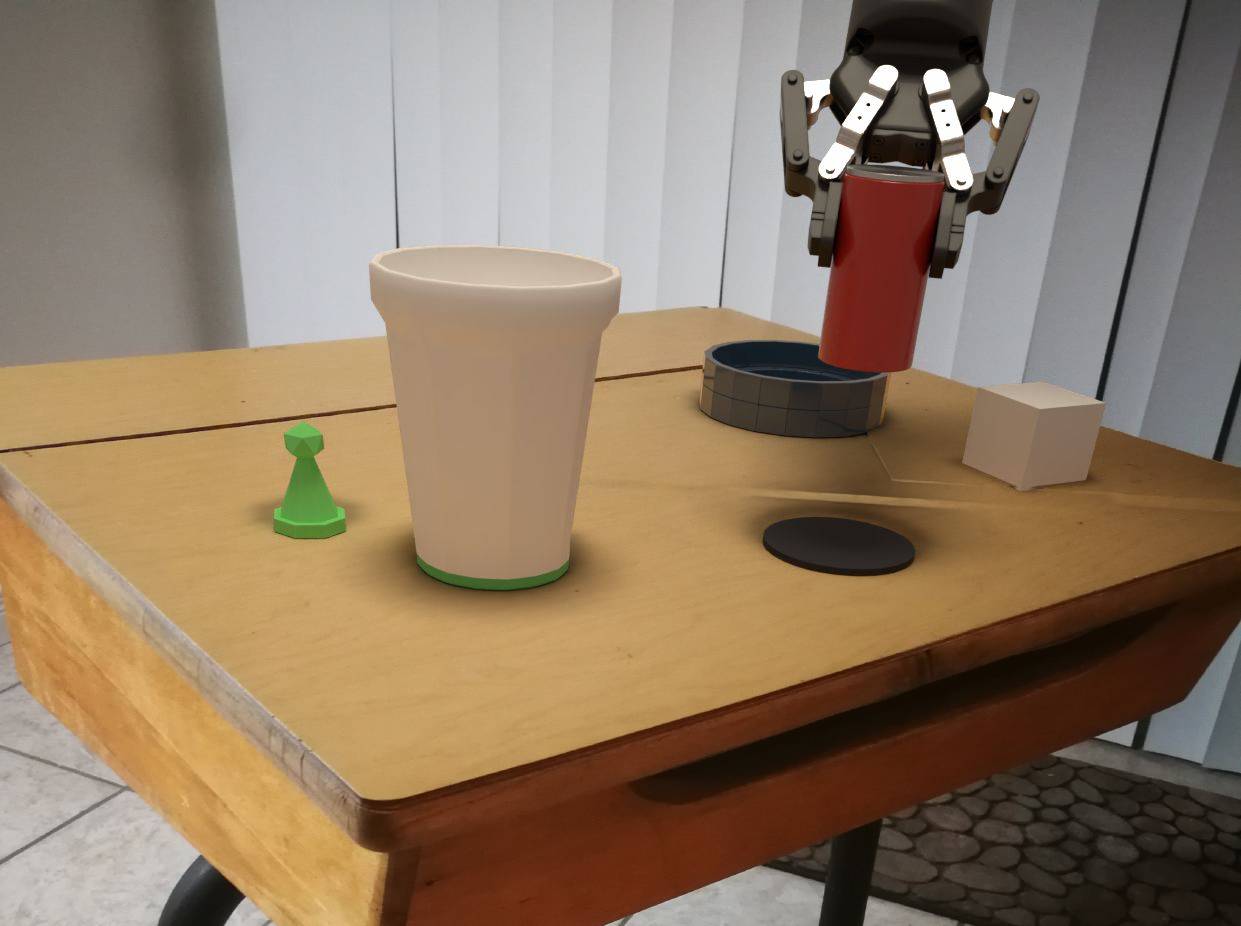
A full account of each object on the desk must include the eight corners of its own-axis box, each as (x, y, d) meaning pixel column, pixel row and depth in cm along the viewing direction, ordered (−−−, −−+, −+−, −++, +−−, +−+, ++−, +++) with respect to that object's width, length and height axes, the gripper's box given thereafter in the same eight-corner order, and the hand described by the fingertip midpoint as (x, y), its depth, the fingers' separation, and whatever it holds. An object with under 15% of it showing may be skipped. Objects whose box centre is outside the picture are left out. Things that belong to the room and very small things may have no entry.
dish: (865, 402, 108) (875, 346, 106) (894, 451, 96) (905, 388, 94) (695, 392, 108) (700, 334, 105) (703, 439, 96) (709, 375, 93)
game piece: (360, 532, 75) (355, 427, 72) (289, 543, 73) (281, 435, 70) (329, 510, 78) (324, 407, 75) (260, 520, 76) (251, 415, 73)
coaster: (900, 527, 81) (901, 521, 81) (927, 579, 74) (928, 573, 74) (756, 518, 81) (757, 512, 81) (769, 570, 74) (770, 563, 73)
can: (903, 354, 75) (935, 168, 69) (919, 375, 70) (956, 179, 65) (812, 348, 75) (839, 161, 69) (823, 369, 70) (852, 172, 65)
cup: (453, 622, 65) (452, 294, 57) (340, 545, 73) (324, 248, 65) (650, 579, 71) (674, 279, 63) (526, 513, 80) (532, 239, 71)
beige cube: (1083, 491, 90) (1106, 402, 87) (1018, 500, 88) (1040, 409, 84) (1022, 466, 95) (1042, 380, 91) (959, 473, 92) (977, 386, 89)
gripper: (796, -77, 69) (745, 200, 65) (1075, -60, 67) (1038, 226, 63) (789, 40, 76) (744, 295, 73) (1041, 59, 74) (1006, 321, 71)
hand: (881, 261), depth 68 cm, fingers closed on can, 5 cm apart
